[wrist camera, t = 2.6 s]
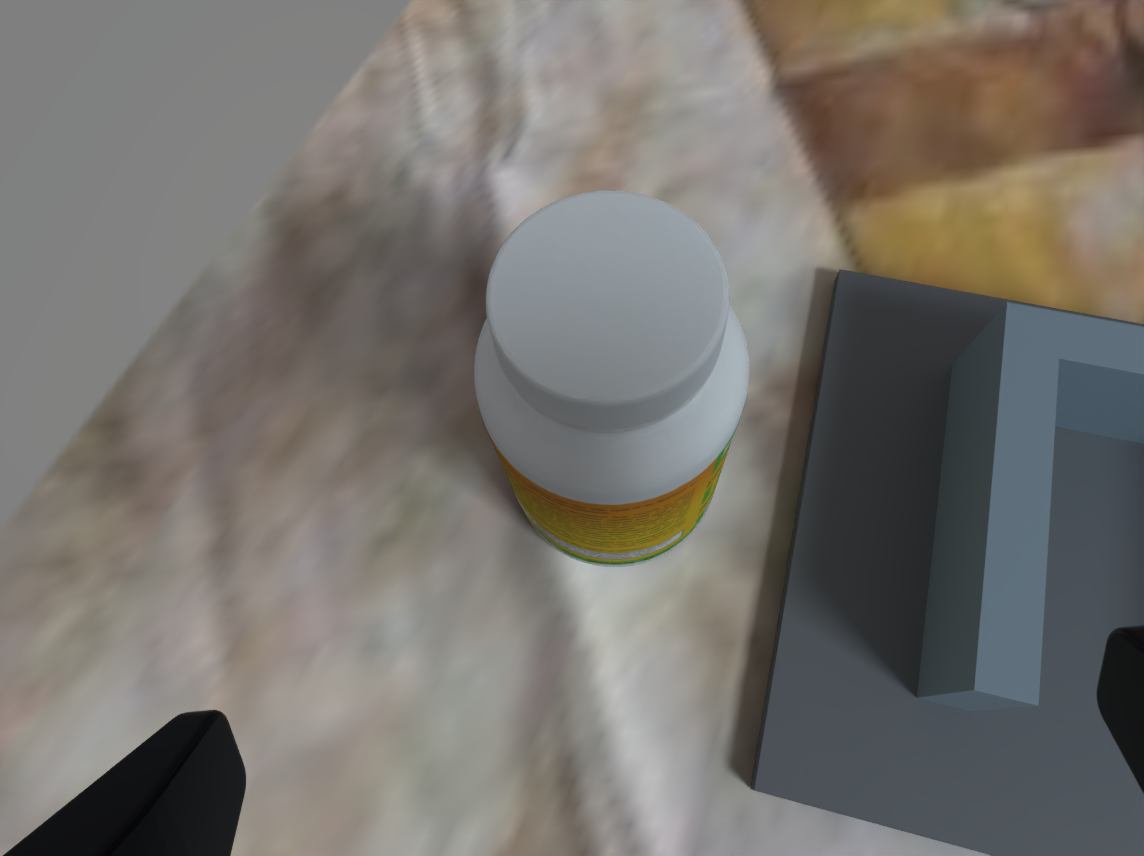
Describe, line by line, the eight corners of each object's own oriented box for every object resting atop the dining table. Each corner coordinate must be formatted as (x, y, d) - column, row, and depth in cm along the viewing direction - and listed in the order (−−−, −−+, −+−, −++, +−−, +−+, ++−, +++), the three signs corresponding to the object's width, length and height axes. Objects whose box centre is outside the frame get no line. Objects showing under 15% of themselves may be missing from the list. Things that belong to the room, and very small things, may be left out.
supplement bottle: (730, 559, 21) (808, 426, 12) (523, 581, 21) (448, 466, 12) (698, 370, 23) (746, 135, 14) (509, 392, 23) (435, 171, 14)
